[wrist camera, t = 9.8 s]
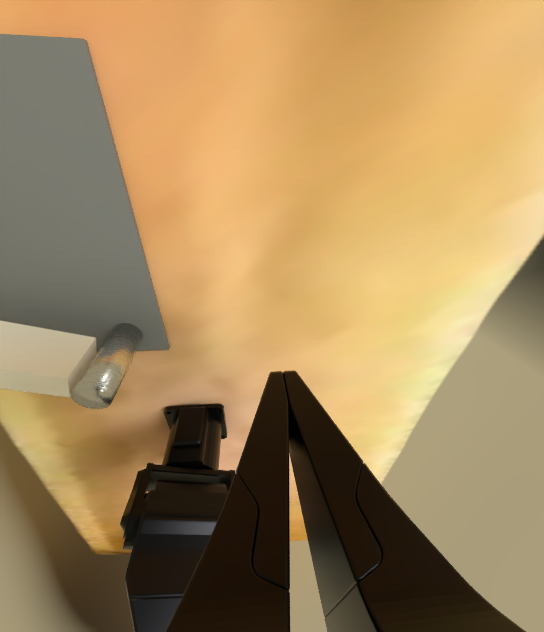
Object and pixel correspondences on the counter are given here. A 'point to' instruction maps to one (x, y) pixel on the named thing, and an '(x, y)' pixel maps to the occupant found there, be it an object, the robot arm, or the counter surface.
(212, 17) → the counter surface
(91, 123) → the mat
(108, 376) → the gate post
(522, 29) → the counter surface
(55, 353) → the cream long block
